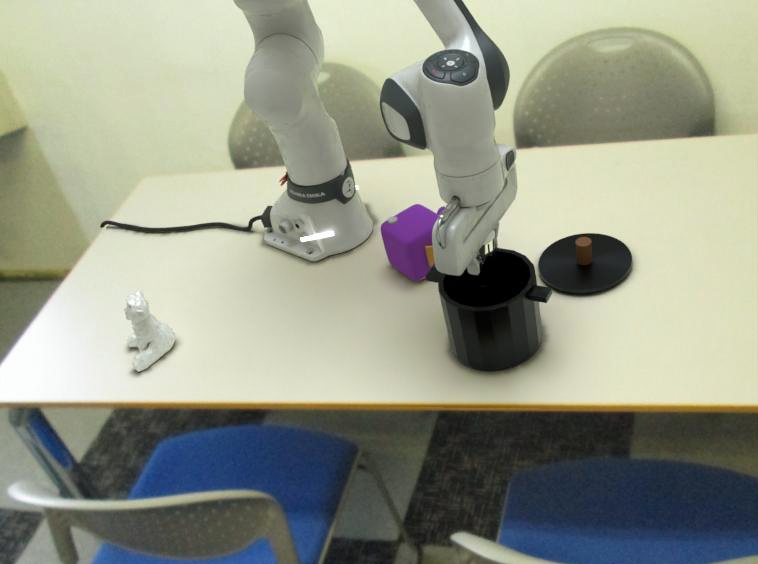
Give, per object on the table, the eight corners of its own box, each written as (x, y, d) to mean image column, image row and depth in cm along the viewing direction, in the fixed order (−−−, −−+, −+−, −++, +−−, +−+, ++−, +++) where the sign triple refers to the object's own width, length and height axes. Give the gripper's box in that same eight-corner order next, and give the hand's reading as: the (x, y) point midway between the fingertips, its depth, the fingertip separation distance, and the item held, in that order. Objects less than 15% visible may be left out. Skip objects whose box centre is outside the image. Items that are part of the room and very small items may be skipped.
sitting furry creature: (129, 343, 146) (97, 292, 137) (174, 325, 147) (146, 273, 139) (136, 374, 140) (104, 323, 131) (183, 355, 141) (154, 302, 132)
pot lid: (614, 303, 130) (613, 278, 126) (524, 287, 136) (521, 262, 133) (644, 245, 138) (644, 220, 134) (558, 233, 145) (556, 208, 141)
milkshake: (510, 278, 119) (504, 221, 112) (480, 293, 118) (471, 237, 111) (494, 264, 122) (487, 208, 115) (464, 278, 121) (455, 223, 114)
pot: (536, 384, 121) (528, 321, 112) (421, 356, 129) (405, 297, 120) (571, 321, 128) (567, 258, 120) (460, 299, 137) (449, 239, 128)
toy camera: (474, 247, 147) (466, 200, 139) (425, 289, 141) (414, 242, 134) (431, 231, 153) (421, 185, 145) (382, 271, 147) (369, 225, 140)
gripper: (456, 226, 101) (472, 309, 111) (521, 140, 112) (530, 223, 122) (413, 219, 104) (432, 301, 113) (480, 136, 115) (492, 218, 125)
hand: (483, 260), depth 118 cm, fingers closed on milkshake, 4 cm apart
